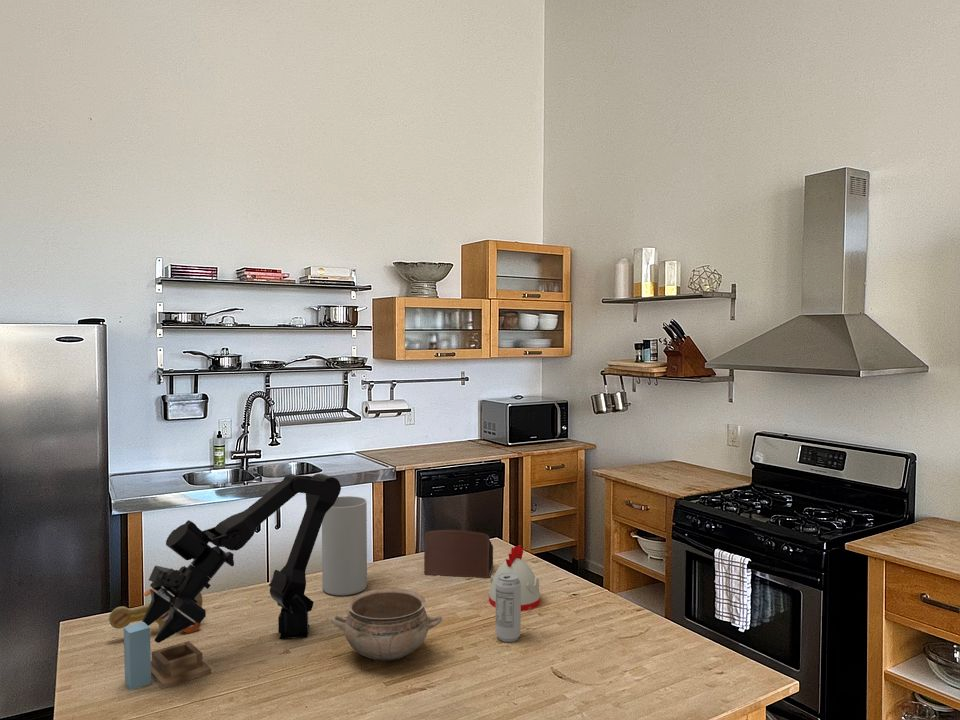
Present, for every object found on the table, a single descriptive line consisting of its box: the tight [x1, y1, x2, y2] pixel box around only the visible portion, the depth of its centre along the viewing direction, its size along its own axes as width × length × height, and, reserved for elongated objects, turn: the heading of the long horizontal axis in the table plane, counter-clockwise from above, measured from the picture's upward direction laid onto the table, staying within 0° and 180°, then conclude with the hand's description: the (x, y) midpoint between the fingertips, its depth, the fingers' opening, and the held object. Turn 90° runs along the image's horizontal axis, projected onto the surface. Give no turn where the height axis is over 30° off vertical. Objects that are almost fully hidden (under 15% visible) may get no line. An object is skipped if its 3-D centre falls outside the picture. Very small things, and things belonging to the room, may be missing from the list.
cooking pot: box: [331, 588, 443, 663], centre depth 162 cm, size 25×19×12 cm
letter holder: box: [423, 529, 494, 579], centre depth 218 cm, size 10×20×14 cm, turn 82°
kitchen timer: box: [488, 544, 541, 612], centre depth 194 cm, size 14×14×15 cm
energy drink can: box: [495, 573, 522, 643], centre depth 172 cm, size 6×6×15 cm
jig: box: [151, 640, 212, 690], centre depth 155 cm, size 10×12×4 cm
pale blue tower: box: [123, 621, 152, 691], centre depth 150 cm, size 4×4×12 cm
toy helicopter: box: [108, 587, 203, 634], centre depth 173 cm, size 8×21×14 cm, turn 123°
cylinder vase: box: [321, 495, 368, 597], centre depth 203 cm, size 12×12×25 cm
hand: (148, 634), depth 151 cm, fingers open, 9 cm apart
